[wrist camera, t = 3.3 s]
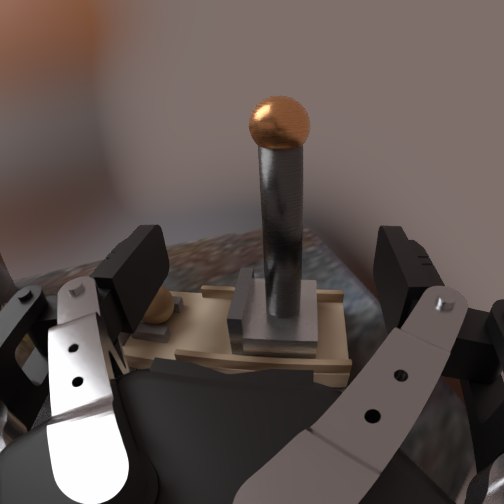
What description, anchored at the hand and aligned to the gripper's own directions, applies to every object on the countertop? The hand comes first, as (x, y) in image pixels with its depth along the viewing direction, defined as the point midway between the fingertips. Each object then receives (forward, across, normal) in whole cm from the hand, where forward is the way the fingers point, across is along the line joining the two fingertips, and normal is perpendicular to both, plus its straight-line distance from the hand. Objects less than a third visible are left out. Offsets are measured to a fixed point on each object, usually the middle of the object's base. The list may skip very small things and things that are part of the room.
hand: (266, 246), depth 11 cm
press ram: (+11, +1, +16) cm, 19 cm away
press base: (+12, +6, +18) cm, 22 cm away
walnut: (+11, +13, +15) cm, 23 cm away
